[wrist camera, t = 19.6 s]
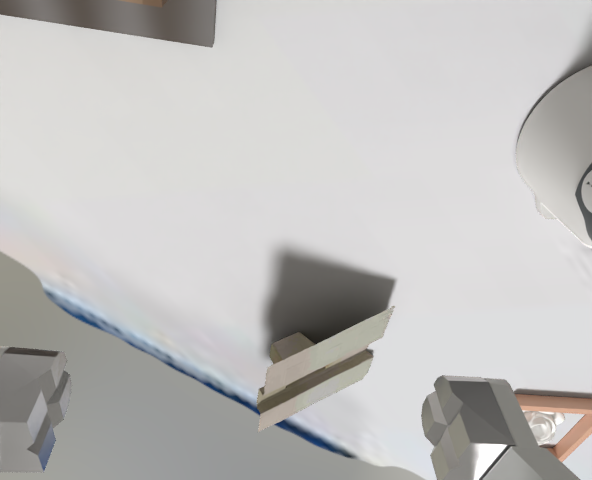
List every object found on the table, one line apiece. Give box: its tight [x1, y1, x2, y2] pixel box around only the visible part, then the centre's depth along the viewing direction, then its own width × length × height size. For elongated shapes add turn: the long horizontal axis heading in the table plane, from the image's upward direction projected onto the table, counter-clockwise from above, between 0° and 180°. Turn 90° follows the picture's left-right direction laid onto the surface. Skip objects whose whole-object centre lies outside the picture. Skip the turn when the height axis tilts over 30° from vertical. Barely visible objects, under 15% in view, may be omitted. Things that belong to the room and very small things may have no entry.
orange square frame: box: [515, 394, 592, 462], centre depth 77 cm, size 16×16×2 cm
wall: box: [256, 306, 395, 432], centre depth 59 cm, size 19×10×17 cm
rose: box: [522, 410, 565, 445], centre depth 75 cm, size 10×4×10 cm
